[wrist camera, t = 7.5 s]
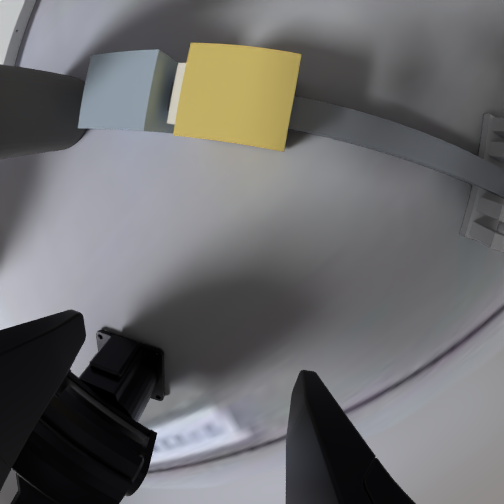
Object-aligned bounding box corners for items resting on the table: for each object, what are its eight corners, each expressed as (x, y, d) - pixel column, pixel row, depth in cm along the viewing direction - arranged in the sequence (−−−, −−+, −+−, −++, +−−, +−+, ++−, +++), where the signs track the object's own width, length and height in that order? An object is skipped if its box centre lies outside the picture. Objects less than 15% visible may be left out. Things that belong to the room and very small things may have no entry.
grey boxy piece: (510, 130, 14) (540, 131, 11) (486, 242, 17) (513, 259, 14) (483, 114, 14) (513, 111, 11) (459, 233, 17) (486, 250, 14)
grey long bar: (506, 158, 15) (544, 164, 11) (494, 213, 16) (530, 230, 12) (123, 69, 16) (87, 55, 12) (112, 129, 18) (74, 128, 13)
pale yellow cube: (297, 78, 15) (301, 54, 11) (284, 151, 17) (283, 151, 12) (215, 67, 15) (190, 42, 11) (201, 138, 17) (172, 135, 12)
